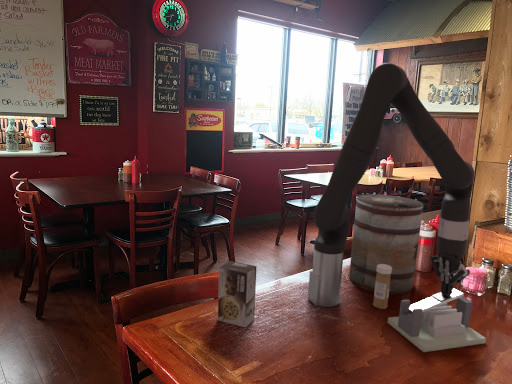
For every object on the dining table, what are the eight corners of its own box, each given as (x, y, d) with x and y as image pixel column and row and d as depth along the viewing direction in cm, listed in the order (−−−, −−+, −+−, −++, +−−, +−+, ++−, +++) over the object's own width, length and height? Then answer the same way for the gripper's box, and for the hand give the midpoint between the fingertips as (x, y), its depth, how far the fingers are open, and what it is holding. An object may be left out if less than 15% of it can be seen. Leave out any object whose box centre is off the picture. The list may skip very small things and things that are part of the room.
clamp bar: (415, 315, 116) (414, 311, 116) (406, 309, 119) (406, 305, 119) (463, 295, 120) (463, 292, 119) (454, 290, 123) (453, 286, 123)
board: (423, 352, 111) (427, 319, 109) (386, 322, 126) (390, 292, 124) (485, 343, 117) (490, 311, 115) (443, 315, 132) (447, 287, 130)
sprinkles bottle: (390, 307, 136) (395, 267, 133) (380, 310, 134) (385, 269, 131) (379, 301, 140) (383, 262, 137) (369, 304, 137) (373, 264, 135)
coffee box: (255, 318, 124) (257, 265, 121) (245, 328, 119) (247, 273, 116) (227, 311, 128) (229, 259, 125) (216, 320, 122) (218, 266, 119)
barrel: (424, 283, 157) (434, 203, 151) (393, 300, 141) (404, 211, 136) (369, 265, 173) (377, 192, 167) (336, 279, 157) (344, 198, 151)
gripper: (424, 229, 122) (419, 286, 125) (459, 243, 110) (452, 306, 113) (446, 227, 124) (440, 284, 127) (482, 241, 112) (475, 303, 115)
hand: (446, 294), depth 120 cm, fingers closed
